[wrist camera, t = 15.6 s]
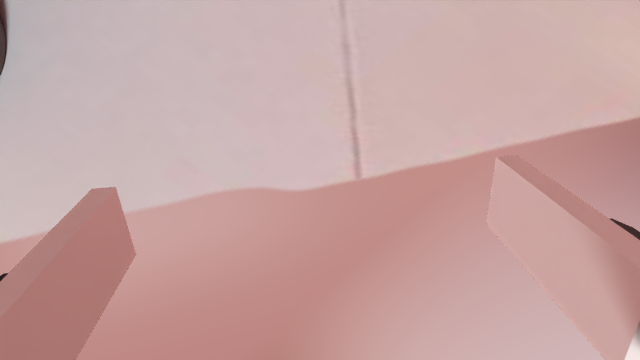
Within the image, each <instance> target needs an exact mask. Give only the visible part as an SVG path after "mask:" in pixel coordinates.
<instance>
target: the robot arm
mask: <svg viewBox="0 0 640 360" xmlns="http://www.w3.org/2000/svg"><path fill="white" fill-rule="evenodd" d="M4 57H5V34H4V28H3V24H2V20H1V17H0V73H1V70H2V67H3V63H4ZM486 224H487V225H488V227H489V228H490V229H491V230H492V231H493V232H494V233H495V235H496V236H497V237H498V238H499V239H500V240H501V241H502V242H503V244H504V245H505V246H506V247H507V248H508V249H509V251H510V252H511V253H512V254H513V255H514V256H515V257H516V258H517V260H518V261H519V262H520V263H521V264H522V265H523V266H524V268H525V269H526V270H527V271H528V272H529V273H530V275H531V276H532V277H533V278H534V279H535V280H536V281H537V282H538V283H539V285H540V286H541V287H542V288H543V289H544V290H545V292H546V293H547V294H548V295H549V296H550V297H551V298H552V300H553V301H554V302H555V303H556V304H557V305H558V306H559V308H560V309H561V310H562V311H563V312H564V313H565V314H566V316H567V317H568V318H569V319H570V320H571V321H572V322H573V323H574V325H575V326H576V327H577V328H578V329H579V330H580V332H581V333H582V334H583V335H584V336H585V337H586V338H587V340H588V341H589V342H590V343H591V344H592V345H593V346H594V348H596V350H597V351H598V352H599V353H600V354H601V355H602V357H604V359H605V360H640V232H639V231H637V230H636V229H634V228H633V227H630V226H628V225H625V224H623V223H621V222H618V221H616V220H614V219H609V218H607V217H606V216H604V215H603V214H601V213H599V212H598V211H597V210H595V209H594V208H593V207H591V206H590V205H588V204H587V203H585V202H584V201H583V200H581V199H580V198H578V197H577V196H575V195H574V194H572V193H571V192H570V191H568V190H566V189H565V188H564V187H562V186H561V185H559V184H558V183H556V182H555V181H554V180H552V179H551V178H549V177H548V176H546V175H545V174H543V173H542V172H541V171H539V170H538V169H536V168H535V167H533V166H532V165H531V164H529V163H528V162H526V161H524V160H523V159H522V158H520V157H519V156H517V155H516V156H503V157H496V163H495V169H494V175H493V182H492V189H491V195H490V202H489V208H488V216H487V222H486ZM135 256H136V253H135V249H134V246H133V243H132V239H131V236H130V233H129V230H128V226H127V223H126V220H125V216H124V213H123V210H122V206H121V203H120V200H119V197H118V193H117V190H116V187H110V188H97V189H92V190H91V191H90V192H89V193H88V194H87V195H86V196H85V197H84V198H83V199H82V200H81V201H80V202H79V203H78V204H77V205H76V206H75V207H74V208H73V209H72V210H71V211H70V212H69V213H68V214H67V215H66V216H65V217H64V218H63V219H62V220H61V221H60V222H59V223H58V224H57V225H56V226H55V227H54V228H53V229H52V230H51V231H50V232H49V233H48V234H47V235H46V236H45V237H44V238H43V239H42V240H41V241H40V242H39V243H38V244H37V245H36V246H35V247H34V248H33V249H32V250H31V251H30V252H29V253H28V254H27V255H26V256H25V257H24V258H23V259H22V260H21V261H20V262H19V263H18V264H17V266H15V268H13V270H11V271H10V272H9V273H6V274H3V275H1V276H0V360H76V359H77V357H78V355H79V353H80V352H81V350H82V348H83V347H84V345H85V343H86V341H87V340H88V338H89V336H90V334H91V333H92V331H93V329H94V327H95V326H96V324H97V322H98V320H99V319H100V317H101V315H102V313H103V311H104V310H105V308H106V306H107V305H108V303H109V301H110V299H111V297H112V296H113V294H114V292H115V291H116V289H117V287H118V285H119V283H120V282H121V280H122V278H123V277H124V275H125V273H126V271H127V270H128V268H129V266H130V264H131V262H132V261H133V259H134V257H135Z"/></svg>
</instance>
